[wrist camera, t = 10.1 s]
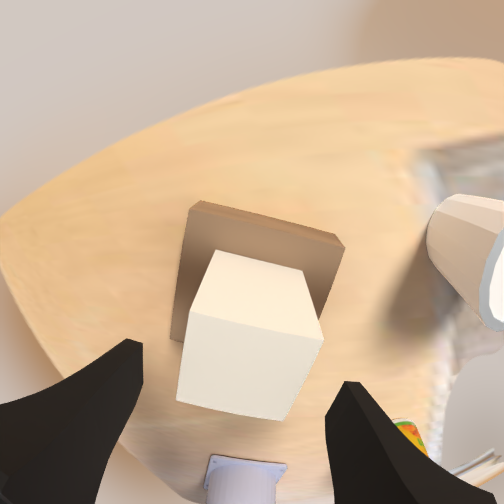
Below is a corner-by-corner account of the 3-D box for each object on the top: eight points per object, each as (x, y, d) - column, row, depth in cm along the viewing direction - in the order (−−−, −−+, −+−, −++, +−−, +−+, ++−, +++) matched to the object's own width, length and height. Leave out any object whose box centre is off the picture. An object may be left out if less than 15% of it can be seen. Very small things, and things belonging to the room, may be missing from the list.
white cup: (417, 290, 18) (469, 349, 11) (414, 189, 16) (486, 215, 9) (487, 270, 17) (544, 312, 11) (490, 180, 15) (560, 200, 8)
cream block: (277, 340, 17) (283, 421, 11) (200, 322, 16) (175, 400, 11) (302, 270, 15) (323, 340, 9) (215, 249, 15) (189, 310, 9)
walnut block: (294, 340, 20) (298, 367, 17) (181, 314, 20) (169, 338, 17) (333, 232, 17) (345, 248, 15) (201, 199, 17) (189, 209, 14)
